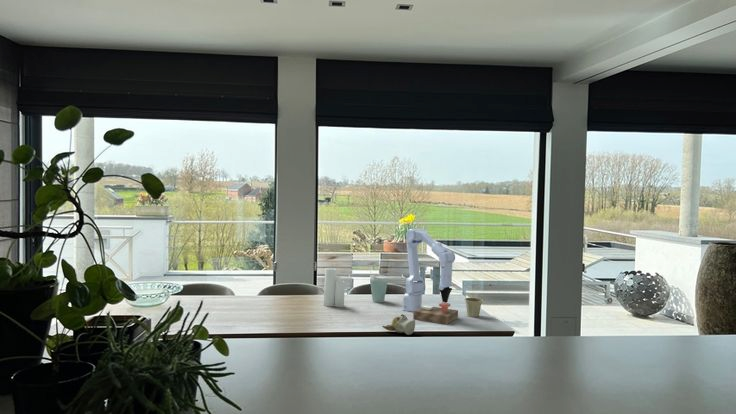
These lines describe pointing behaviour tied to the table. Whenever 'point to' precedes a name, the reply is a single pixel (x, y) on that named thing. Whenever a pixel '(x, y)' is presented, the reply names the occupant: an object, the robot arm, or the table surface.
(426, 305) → the cream button
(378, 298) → the disposable coffee cup
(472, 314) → the flower pot
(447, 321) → the panel
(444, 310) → the red button
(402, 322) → the ceramic sculpture
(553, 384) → the table surface
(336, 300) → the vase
